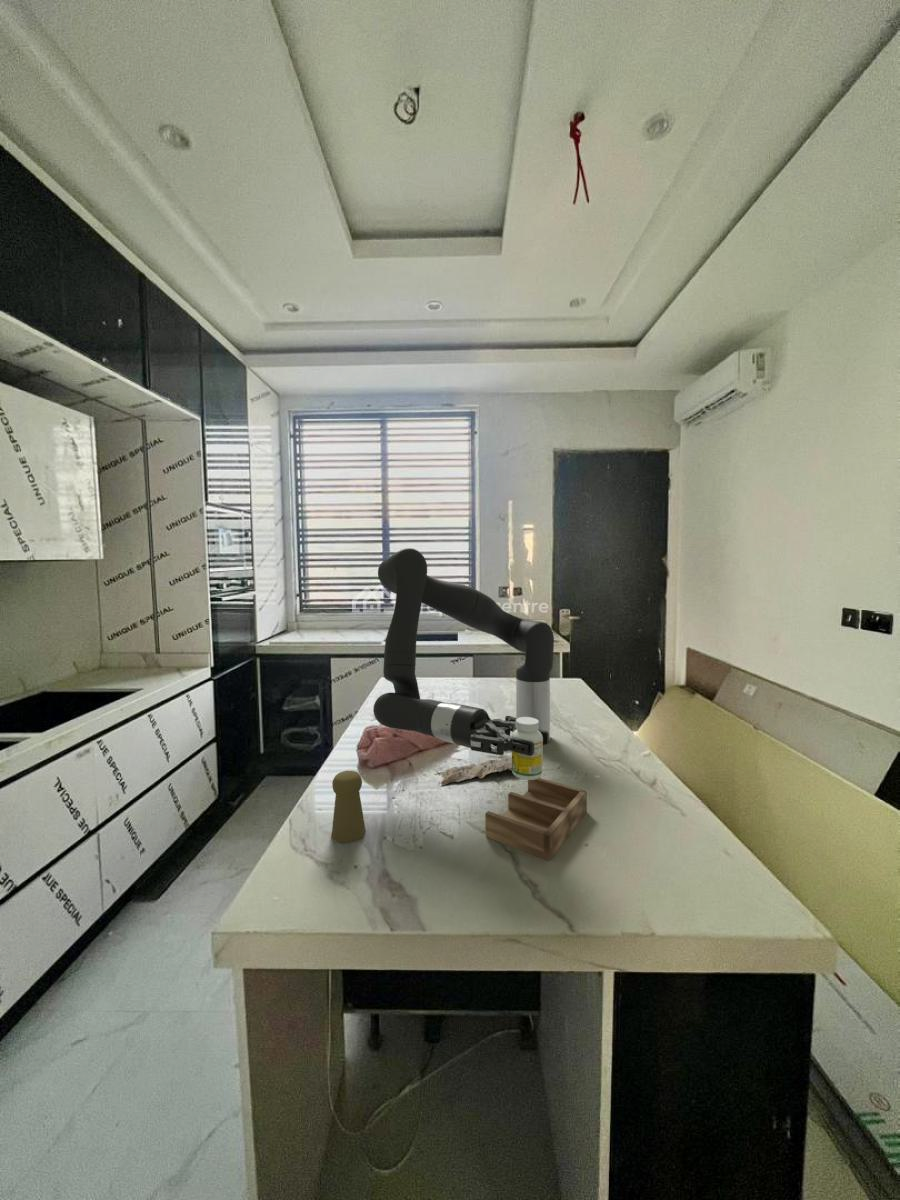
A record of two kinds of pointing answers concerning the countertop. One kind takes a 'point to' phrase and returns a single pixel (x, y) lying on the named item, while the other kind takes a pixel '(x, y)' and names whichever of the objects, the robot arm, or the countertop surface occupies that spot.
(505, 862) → the countertop surface
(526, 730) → the supplement bottle
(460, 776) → the stone fragment
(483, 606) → the robot arm
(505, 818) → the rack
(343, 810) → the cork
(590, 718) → the countertop surface
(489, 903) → the countertop surface
